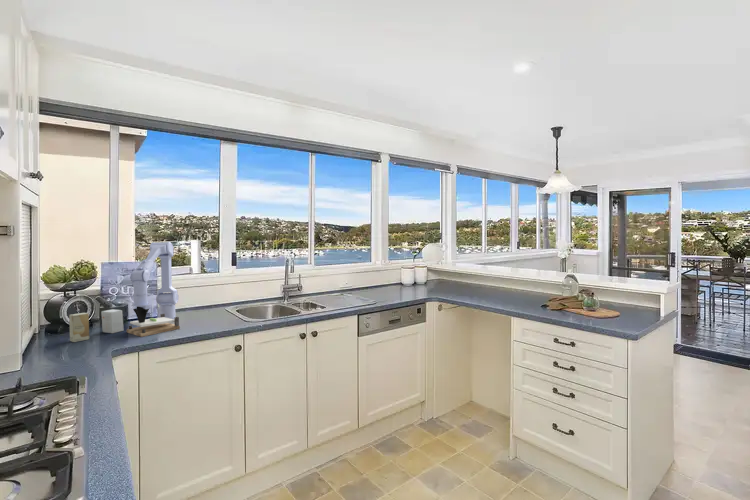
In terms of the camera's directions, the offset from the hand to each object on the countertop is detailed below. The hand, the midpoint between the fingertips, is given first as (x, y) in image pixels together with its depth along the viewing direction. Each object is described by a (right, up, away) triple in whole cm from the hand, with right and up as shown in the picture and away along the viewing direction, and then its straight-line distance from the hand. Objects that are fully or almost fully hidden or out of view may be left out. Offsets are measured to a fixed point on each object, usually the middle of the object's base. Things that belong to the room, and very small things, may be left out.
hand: (141, 322), depth 185 cm
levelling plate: (+3, -1, +5) cm, 6 cm away
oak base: (+3, -5, +5) cm, 7 cm away
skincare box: (-22, -6, -11) cm, 25 cm away
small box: (-17, -6, +4) cm, 18 cm away
